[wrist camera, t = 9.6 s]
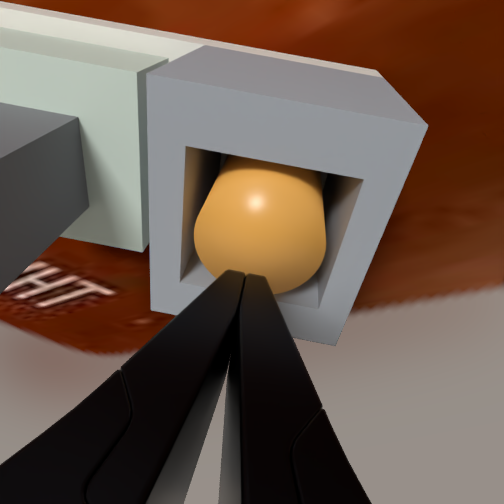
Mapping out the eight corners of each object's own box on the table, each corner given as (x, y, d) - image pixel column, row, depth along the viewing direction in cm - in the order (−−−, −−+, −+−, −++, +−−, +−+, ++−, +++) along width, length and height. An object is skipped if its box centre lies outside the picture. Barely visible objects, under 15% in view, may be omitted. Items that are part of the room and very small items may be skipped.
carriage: (168, 57, 12) (-31, 147, 5) (166, 214, 16) (47, 401, 8) (-9, 25, 12) (-457, 67, 5) (28, 188, 16) (-206, 350, 9)
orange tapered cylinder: (330, 127, 13) (343, 197, 8) (307, 211, 15) (308, 304, 10) (235, 110, 13) (197, 170, 9) (225, 196, 15) (190, 282, 10)
